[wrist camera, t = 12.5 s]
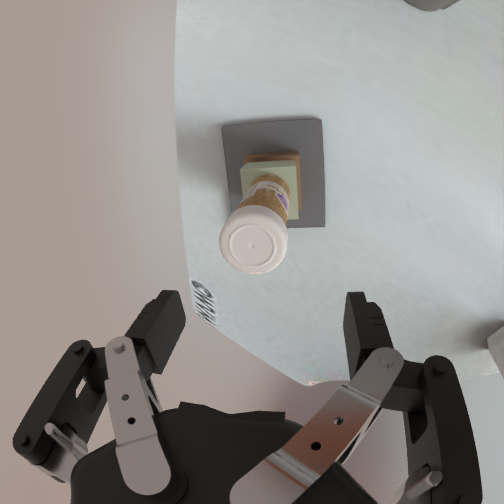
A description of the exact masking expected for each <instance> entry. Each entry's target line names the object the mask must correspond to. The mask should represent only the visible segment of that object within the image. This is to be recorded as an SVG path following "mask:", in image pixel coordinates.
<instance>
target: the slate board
mask: <svg viewBox="0 0 504 504" xmlns="http://www.w3.org/2000/svg"><path fill="white" fill-rule="evenodd" d="M221 127H222V136H223V145H224V153H225V161H226V170H227V178H228V186H229V194H230V202H231V210H232V213H233V212H234V211H236V209H237V207H238V205H239V204H240V202H241V201H242V199H243V193H242V184H241V175H240V169H241V168H242V167H243V159H244V158H245V157H246V156H247V155H249V154H260V153H276V152H297V151H299V159H300V176H301V196H302V210H298V218H299V219H291V220H287V222H286V228H305V227H325V179H324V153H323V135H322V120H288V121H272V122H259V123H248V124H238V125H229V126H221Z"/></svg>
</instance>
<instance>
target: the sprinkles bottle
mask: <svg viewBox="0 0 504 504" xmlns="http://www.w3.org/2000/svg"><path fill="white" fill-rule="evenodd" d="M289 201H290V190H289V187H288V185H287V183H286V182H285V181H284V180H283V179H282V178H280V177H278V176H276V175H271V174H267V175H262V176H260V177H258V178H256V179H255V180H254V181H253V182H252V184H251V186H250V188H249V190H248V191H247V193H246V194H245V196H244V197H243V199H242V201H241V202H240V204H239V205H238V207H237V209H236V211H234V212H233V213H232V214H231V215H230V216H229V218H228V219H227V221H226V222H225V224H224V226H223V228H222V230H221V233H220V238H219V245H220V250H221V252H222V255H223V256H224V258H225V260H226V261H227V262H228V263H229V264H230V265H231V266H232V267H234V268H235V269H237V270H239V271H241V272H244V273H248V274H262V273H266V272H269V271H271V270H272V269H274V268H275V267H277V266H278V265H279V264H280V262H281V261H282V260H283V258H284V256H285V253H286V249H287V242H288V233H287V228H286V222H287V218H288V210H289Z"/></svg>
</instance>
